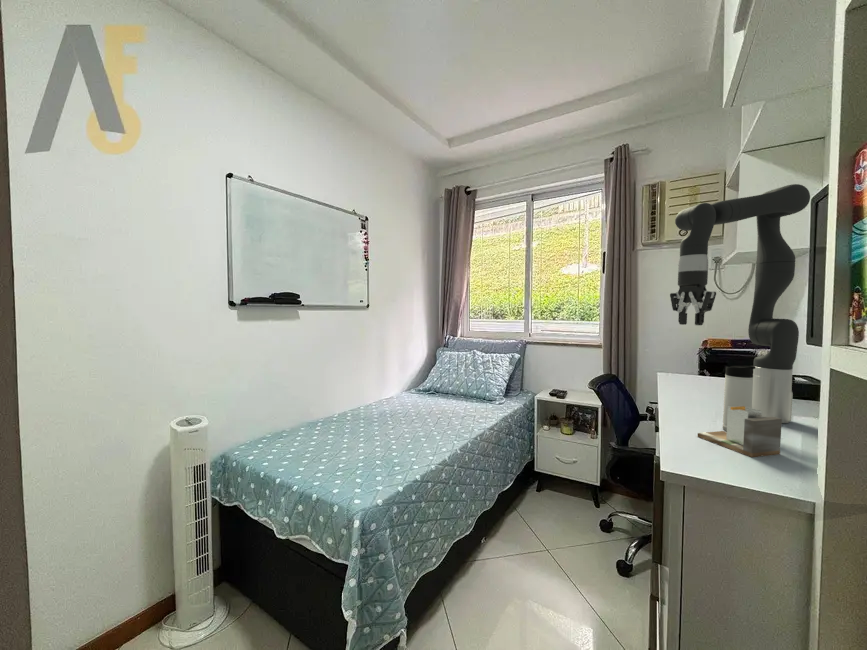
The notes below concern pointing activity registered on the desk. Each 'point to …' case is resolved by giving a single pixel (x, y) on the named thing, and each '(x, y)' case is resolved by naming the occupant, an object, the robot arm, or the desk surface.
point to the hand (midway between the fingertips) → (690, 324)
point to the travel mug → (737, 388)
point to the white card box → (739, 422)
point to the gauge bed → (752, 437)
